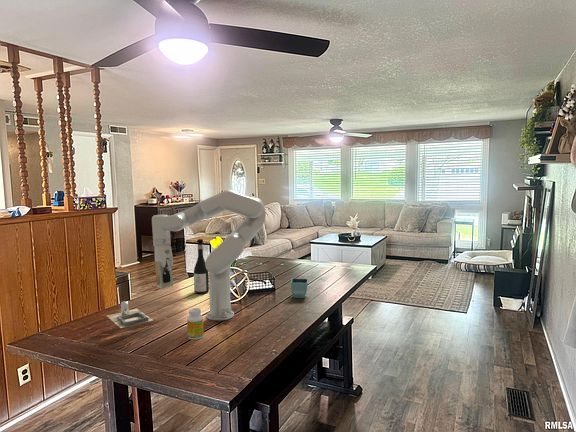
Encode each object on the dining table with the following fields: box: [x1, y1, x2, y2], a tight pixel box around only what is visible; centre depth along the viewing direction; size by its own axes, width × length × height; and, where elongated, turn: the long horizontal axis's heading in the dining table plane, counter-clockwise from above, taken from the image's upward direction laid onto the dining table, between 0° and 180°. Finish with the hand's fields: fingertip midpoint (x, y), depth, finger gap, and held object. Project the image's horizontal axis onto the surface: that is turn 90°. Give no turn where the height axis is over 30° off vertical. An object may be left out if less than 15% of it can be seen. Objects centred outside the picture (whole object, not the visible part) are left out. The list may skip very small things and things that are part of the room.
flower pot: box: [290, 278, 309, 299], centre depth 213 cm, size 9×9×9 cm
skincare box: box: [154, 261, 174, 290], centre depth 182 cm, size 6×4×12 cm
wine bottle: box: [193, 238, 209, 295], centre depth 222 cm, size 8×8×30 cm
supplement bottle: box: [186, 307, 205, 341], centre depth 161 cm, size 6×6×11 cm
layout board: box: [106, 308, 153, 329], centre depth 180 cm, size 20×14×3 cm
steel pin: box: [120, 300, 130, 316], centre depth 184 cm, size 3×3×6 cm
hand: (164, 280), depth 183 cm, fingers closed on skincare box, 4 cm apart
